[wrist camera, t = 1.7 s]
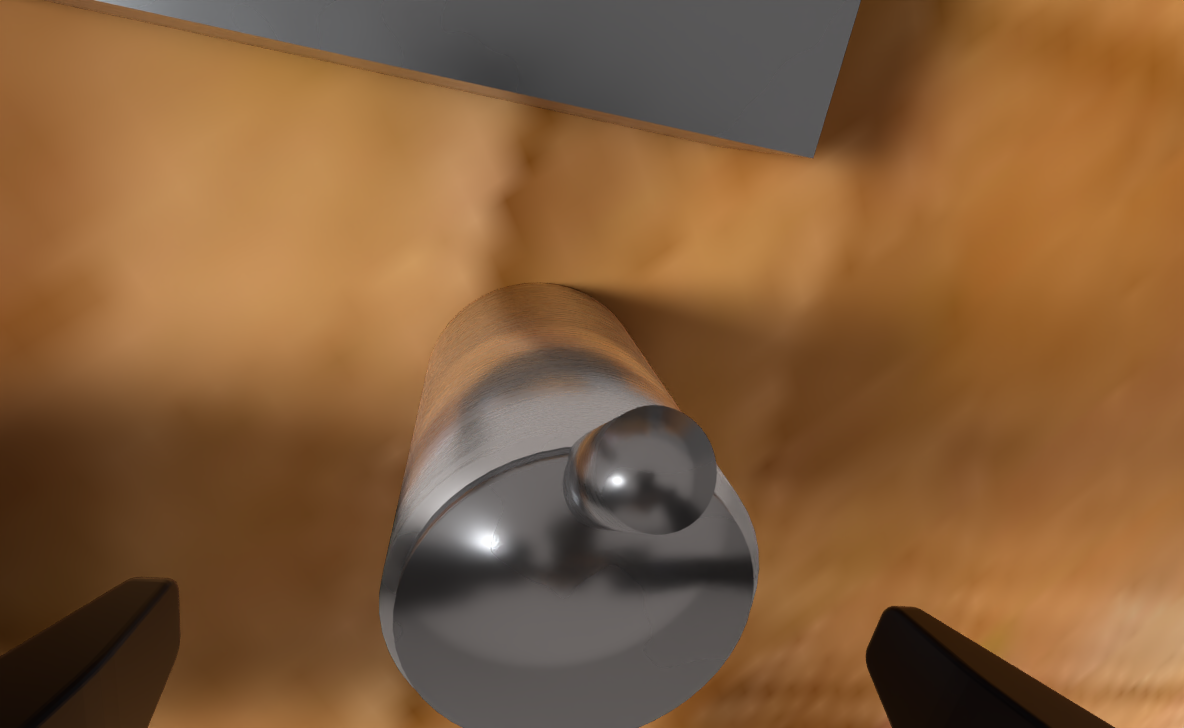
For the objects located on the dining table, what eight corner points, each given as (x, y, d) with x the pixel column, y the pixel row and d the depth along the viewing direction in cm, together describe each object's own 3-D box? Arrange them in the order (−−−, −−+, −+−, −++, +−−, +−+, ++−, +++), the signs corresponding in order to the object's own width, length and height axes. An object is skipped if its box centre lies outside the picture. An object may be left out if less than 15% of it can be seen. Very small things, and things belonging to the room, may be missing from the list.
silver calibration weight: (416, 469, 15) (336, 894, 7) (443, 224, 13) (377, 408, 5) (615, 485, 16) (753, 867, 8) (669, 263, 14) (927, 464, 6)
